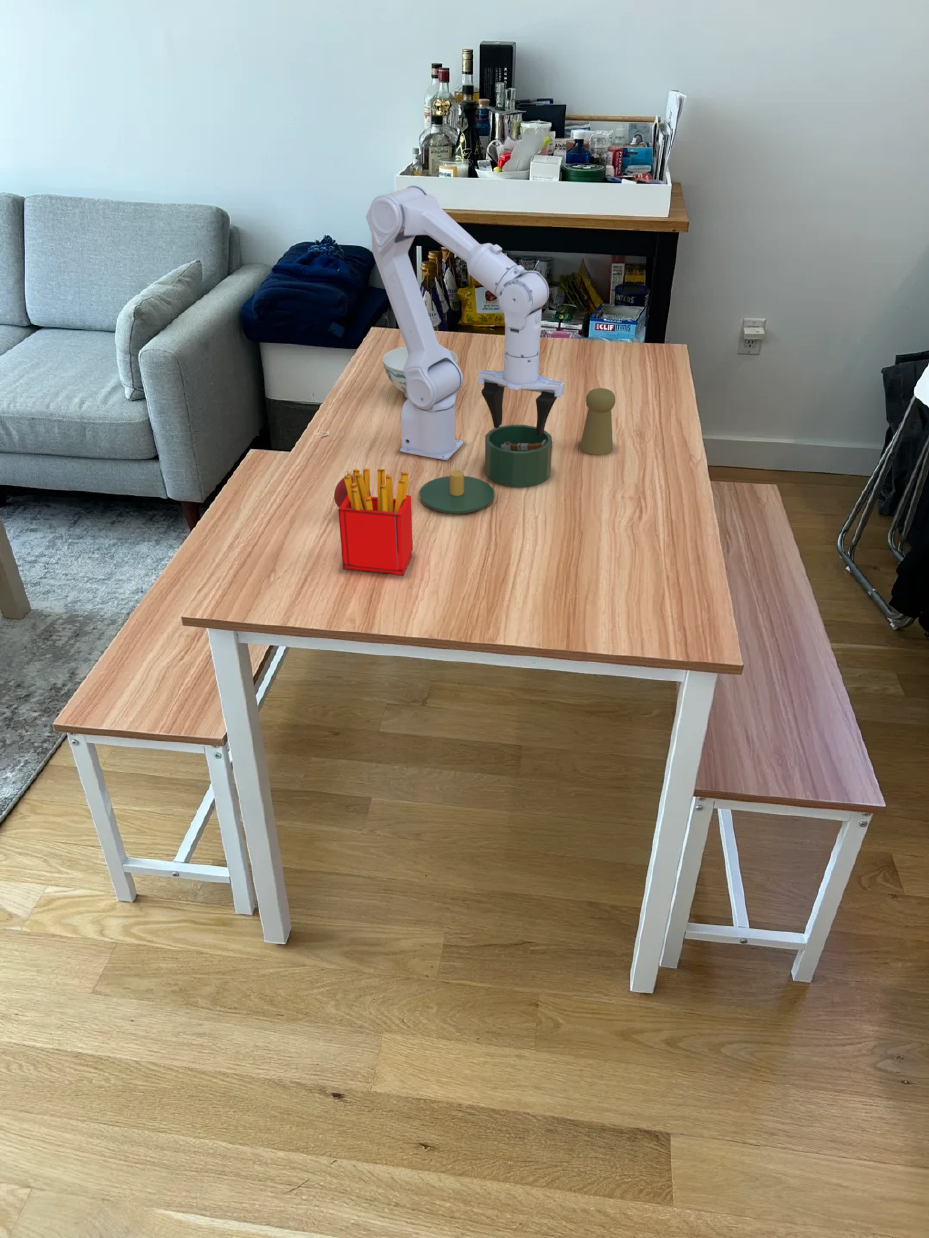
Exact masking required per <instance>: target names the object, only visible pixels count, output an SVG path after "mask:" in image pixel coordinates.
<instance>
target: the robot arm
mask: <svg viewBox="0 0 929 1238" xmlns="http://www.w3.org/2000/svg"><path fill="white" fill-rule="evenodd" d="M365 219H366V221H367V224H368V227H369V230H370V232H371V250H372V255H373V258H374V260H375V263H376V266H377V269H378V272H379V275H380V277H381V280H382V283H383V286H384V288H385V291H386V295H387V297H388V300H389V303H390V306H391V308H392V311H393V314H394V318H395V320H396V322H397V325H398V329H399V332H400V334H401V337H402V339H403V342H404V345H405V346H406V348H407V351H408V354H409V356H408V359H407V361H406V364H405V367H404V370H403V372H404V375H405V378H406V392H407V395H408V398H409V399H408V398H406V400H405V401H404V402H403V405H402V407H401V412H400V439H401V440H400V441H401V447H400V448H399V452H400V453H405V454H409V455H416V456H419V457H425V458H430V459H437V460H442V461H449V459H450V458H452V456H453V455H454V454H455V453H456V452H457V451H458V450H459V449H460V448H461V447H462V446H463V444H464V441H463V440H462V439H461V440H460V439H456V399H457V392H459V391H460V389H461V388H462V386H463V383H464V376H463V371H462V369H461V368H460V365H458V363H457V364H456V363H455V361H454V360H453V358H452V356H451V353H450V351H449V350H450V349H448V348H446V347H444V346H443V345H441V344H440V343H439V341H438V338H437V335H436V332H435V329H434V326H433V323H432V320H431V317H430V313H429V312H428V309H427V306H426V303H425V300H424V297H423V295H422V291H421V288H420V285H419V282H418V279H417V276H416V274H415V271H414V268H413V265H412V262H411V259H410V256H409V250H410V249H411V246H412V244H413V242H414V239H415V237H416V236H429V237H430V238H431V239H433V240H434V241H436V242H437V243H439V244H440V245H441V246H443V247H444V248H445V249H447V250H448V251H450V252H451V253H453V255H455V256H457V257H458V258H459V259H461V260H462V261H464V262H465V263H466V267H467V273H468V275H469V276H470V277H472V278H473V279H474V280H475V281H476V282H478V283H479V284H480V285H482V286H483V287H484V288H485V289H486V290H488V291H489V293H491V294H493V295H494V296H495V297H496V298H497V300H498V304H499V307H500V309H501V311H502V313H503V315H504V350H503V351H504V352H503V370H496V369H495V370H493V369H492V370H491V369H481V370H480V371H479V372H478V373H477V385H480V386H483V388H482V389H481V395H482V397H483V399H484V400H485V402H486V404H487V407H488V409H489V412H490V415H491V419H492V425H493V429H495V428H498V427H500V426H502V423H503V402H504V394H505V388H506V389H508V390H510V391H516V392H517V391H520V390H522V391H528V392H534V393H540V394H539V395H538V396H537V397H536V398H535V405H536V425H535V427H536V435H538V436H541V434H542V433H543V432H544V430H545V428H546V424H547V420H548V418H549V415H550V413H551V411H552V408H553V406H554V404H555V402H556V400H557V398H561V397H562V396H563V395H564V394H565V384H566V383H565V381H560V380H556V379H553V378H550V377H546V376H545V375H544V376H543V375H540V374H539V370H540V354H541V353H540V352H541V351H540V350H541V333H542V331H541V330H542V313H543V311H542V310H543V309H542V307H543V306H544V305H546V303H547V301H548V300H549V296H550V288H549V284H548V282H547V280H546V279H545V278H544V276H542V274H541V273H540V272H539V271H537V270H525V267H524V266H522V265H521V264H519V265H518V264H517V263H516V262H515V261H513V260H512V259H511V258H509V257H508V256H507V255H506V254H505V253H503V248H502V247H501V246H500V245H498V244H493V243H490V242H487V243H479V242H478V241H477V240H476V239H475V238H473V236H472V235H471V234H470V233H469V232H467V231H466V230H465V229H464V228H463V227H462V226H461V225H460V224H458V223H457V222H456V221H455V220H454V218H452V217H451V216H450V215H449V214H448V213H447V212H446V211H445V210H444V209H443V208H441V206H440V204H439V201H438V200H437V198H436V197H435V196H434V195H432V194H430V193H428V191H427V190H426V189H425V188H424V187H422V186H420V185H418V184H417V185H416V184H415V185H414V184H413V185H409V186H407V187H406V188H403V189H400V190H399V189H398V190H397V191H393V192H390V193H386V194H385V193H383V194H380V195H377V196H376V197H375V198H374V199H373V200H372V201H371V204H370V206H369V208H368V210H367V213H366V215H365ZM430 365H431V366H430ZM429 366H430V367H429Z"/></svg>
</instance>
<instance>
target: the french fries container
mask: <svg viewBox="0 0 929 1238" xmlns="http://www.w3.org/2000/svg"><path fill="white" fill-rule="evenodd" d="M376 471H377V472H376V473H377V496H372V495H371V496H370V493H371V489H370V488H371V485H370V484H371V483H370V481H371V477H370V476H371V473H370V472H371V469H370V468H363V469H362V473H361V471H360V470H359V468H355V469H352V473H353V483H352V479H351V475H347V474H346V475H344V477H343V478H344V480H345V484H346V488H347V492H348V494H347V496H346V498H345V499H344V501H343V503H342V504H341V506H340V508H339V507H338V509H337V511H338V523H339V537H340V549H341V560H342V569H343V570H351V571H358V572H359V571H360V572H370V573H379V574H390V575H396V576H397V575H399V576H404V575H405V573H406V571H407V568H408V566H409V564H410V562H411V559H412V557H413V556H412V555H413V550H414V549H413V548H414V545H413V518H412V517H413V516H412V515H413V514H412V495H410V494H407V493H408V492H407V491H408V479H409V473H408V472H407V471H401V472H400V478H399V480H398V485H397V490H396V497H395V498H394V486H393V475H392V474H386V469H385V468H378V469H377V470H376Z"/></svg>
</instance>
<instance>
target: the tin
mask: <svg viewBox="0 0 929 1238" xmlns="http://www.w3.org/2000/svg"><path fill="white" fill-rule="evenodd" d="M543 440H546V442H547V443H546V445H545V446H543V447H540V448H538V449H535V450H528V451H527V450H522V451H521V450H520V451H519V450H518V449H516V450H514V449H511V450H505V449H503V448H501V445H502V444H504V443H506V442H507V441H509V442H510V443H512V444H518V443H520V444H522V443H528V444H535V443H541V442H543ZM513 450H514V451H513ZM552 452H553V437H552V435H551V434H550V433H549V432H548V431H547V430H545V429H544V432H543V433H542V434H541V436H538V435H536V426H533V425H528V424H507V425H500V426H499V427H498V428H493V429H490V430H489V431H488V432H487V433H486V434H485V435H484V475H485V476H486V478H487V479H488V480H489V481H491V482H493V483H495V484H497V485H500V486H503V487H507V488H508V487H510V488H529V487H534V486H538V485H540V484H543V483H545V482H546V481H547V480H548V479H549V477H550V475H551V469H552Z"/></svg>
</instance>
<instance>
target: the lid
mask: <svg viewBox="0 0 929 1238" xmlns="http://www.w3.org/2000/svg"><path fill="white" fill-rule="evenodd" d="M494 498H495V490H494V489H493V487H492V485H490V484H489V483H488V482H486V481H485V480H482V479H479V478H478V477H477V478H476V477H473V476H467V475H465V472H464V471H463V470H461V469H453V470H450V472H449V475H447V476H441V477H438V478H435V479H432V480H429V481H427V482H426V483H425V484H423V486H421V488H420V489H419V499H420V501H421V502H422V503H423V504H424V505H425V506H426V507H428V508H429V509H432V510H434V511H437V512H442V513H446V514H467V513H473V512H477V511H480V510H482V509H484V508H486V507H488V506H490V504H491V503H492V502H493V500H494Z"/></svg>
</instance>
